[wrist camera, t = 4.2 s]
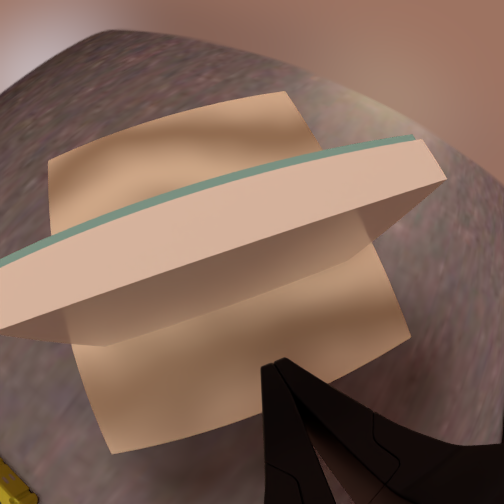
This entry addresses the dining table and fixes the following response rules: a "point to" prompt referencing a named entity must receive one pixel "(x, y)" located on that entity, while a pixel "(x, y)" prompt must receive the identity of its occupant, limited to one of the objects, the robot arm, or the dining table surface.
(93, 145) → the board
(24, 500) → the stun gun
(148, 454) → the dining table surface
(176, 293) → the tile
